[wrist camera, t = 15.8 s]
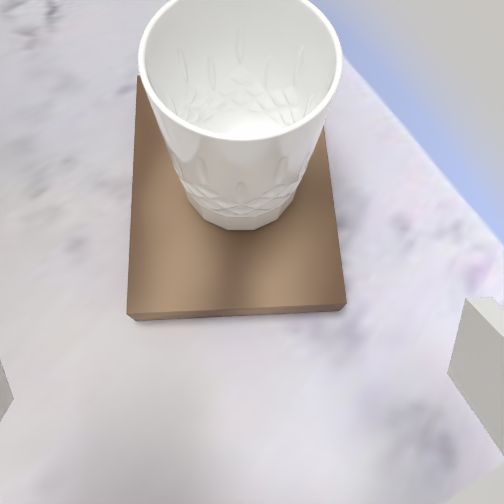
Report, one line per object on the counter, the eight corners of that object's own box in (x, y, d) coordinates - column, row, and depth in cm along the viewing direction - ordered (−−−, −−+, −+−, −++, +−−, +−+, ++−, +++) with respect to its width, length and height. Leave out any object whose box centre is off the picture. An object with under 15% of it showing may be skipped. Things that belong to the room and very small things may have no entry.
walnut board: (135, 320, 25) (126, 313, 23) (143, 96, 30) (137, 75, 28) (338, 310, 25) (346, 303, 23) (311, 91, 31) (316, 71, 29)
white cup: (301, 126, 27) (334, -21, 18) (309, 241, 24) (352, 140, 15) (178, 126, 27) (145, -24, 17) (172, 242, 24) (129, 139, 15)
